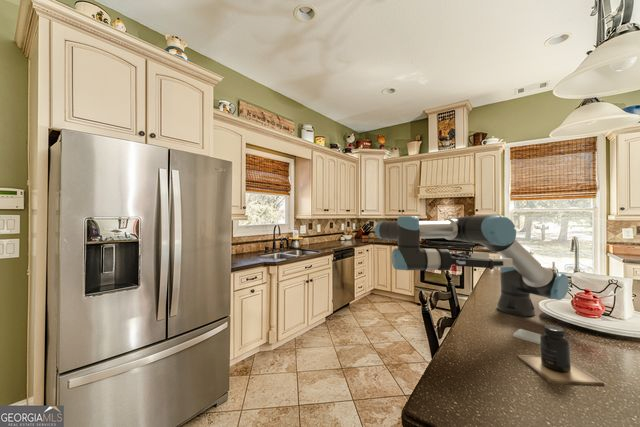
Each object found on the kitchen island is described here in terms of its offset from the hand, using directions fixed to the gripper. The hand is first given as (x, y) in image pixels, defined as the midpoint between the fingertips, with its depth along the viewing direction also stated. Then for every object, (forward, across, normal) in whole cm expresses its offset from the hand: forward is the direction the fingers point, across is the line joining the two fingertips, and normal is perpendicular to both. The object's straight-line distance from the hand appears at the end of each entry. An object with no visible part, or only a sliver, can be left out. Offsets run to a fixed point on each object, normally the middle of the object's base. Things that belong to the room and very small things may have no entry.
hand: (499, 259), depth 93 cm
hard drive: (+18, -10, -33) cm, 39 cm away
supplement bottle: (+9, +11, -31) cm, 34 cm away
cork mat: (+10, +11, -32) cm, 35 cm away
